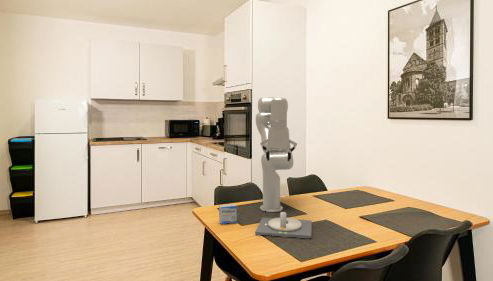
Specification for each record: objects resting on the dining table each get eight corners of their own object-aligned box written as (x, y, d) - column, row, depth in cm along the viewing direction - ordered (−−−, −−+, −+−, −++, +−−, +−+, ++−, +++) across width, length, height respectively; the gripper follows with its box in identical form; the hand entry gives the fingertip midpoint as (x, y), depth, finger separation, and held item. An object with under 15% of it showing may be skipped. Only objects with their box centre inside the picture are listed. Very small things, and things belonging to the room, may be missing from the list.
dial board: (262, 220, 160) (262, 217, 160) (311, 223, 155) (311, 220, 155) (255, 235, 141) (255, 231, 141) (311, 239, 136) (311, 235, 136)
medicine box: (220, 224, 154) (220, 207, 154) (219, 221, 159) (218, 204, 158) (236, 223, 157) (236, 205, 156) (234, 220, 161) (234, 203, 160)
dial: (271, 219, 157) (271, 203, 156) (302, 221, 153) (302, 205, 153) (264, 231, 140) (264, 214, 140) (299, 234, 137) (299, 216, 136)
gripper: (259, 124, 149) (259, 161, 151) (296, 125, 146) (296, 162, 148) (261, 123, 157) (261, 158, 159) (297, 124, 153) (297, 159, 155)
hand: (278, 160), depth 153 cm, fingers open, 9 cm apart
